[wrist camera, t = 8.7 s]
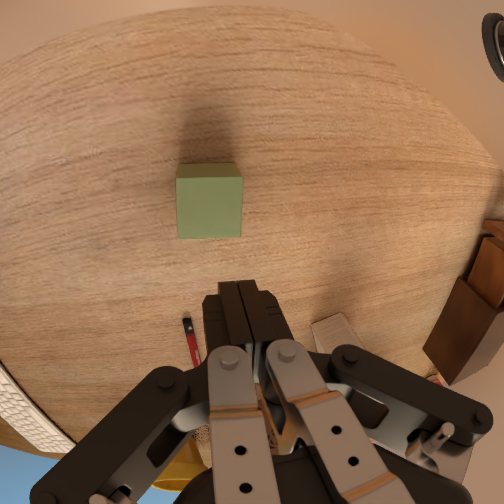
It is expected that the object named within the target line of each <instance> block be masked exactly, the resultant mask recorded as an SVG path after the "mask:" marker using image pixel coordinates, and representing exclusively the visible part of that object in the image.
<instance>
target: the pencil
mask: <svg viewBox="0 0 504 504" xmlns="http://www.w3.org/2000/svg"><path fill="white" fill-rule="evenodd" d="M183 325H184V329H185V333H186V337H187V341H188V345H189V349H190V353H191V356H192V360H193V364H194V367H197V366H199V365H200V364H201V360H200V356H199V352H198V348H197V344H196V339H195V335H194V330H193V326H192V321H191V318H184V319H183Z"/></svg>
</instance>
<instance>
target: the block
mask: <svg viewBox="0 0 504 504" xmlns="http://www.w3.org/2000/svg"><path fill="white" fill-rule="evenodd" d="M243 178H244V177H243V175H242V174H241V172H240V171H239V169H238V168H237V166H236V165H235V163H192V164H178V168H177V173H176V178H175V185H176V211H177V229H178V240H183V239H206V238H231V237H241V221H242V199H243Z"/></svg>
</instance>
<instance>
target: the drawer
mask: <svg viewBox="0 0 504 504" xmlns="http://www.w3.org/2000/svg"><path fill="white" fill-rule="evenodd" d="M483 228H484V229H486V230H487V231H489V232H490V233H491V234H493V235H494V236H496V237H484V238H483V241H482V244H481V247H480V250H479V252H478V255H477V258H476V260H475V263H474V265H473V268H472V270H471V273H470V275H469V277H468V280H467V283H468V284H470V285H471V286H472V287H473V288H474V289H475V290H476V291H477V292H478V293H479V294H480V295H481V296H482V297H483V298H484V299H485V300H487V301H488V302H489V303H490V304H491V305H492V306H493V307H494V308H495V309H496V310H498V309H500V308H502V307H504V221H489V220H485V223H484V226H483Z"/></svg>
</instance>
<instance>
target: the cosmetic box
mask: <svg viewBox="0 0 504 504" xmlns="http://www.w3.org/2000/svg"><path fill="white" fill-rule="evenodd" d="M311 327H312V331H313V336H314V340H315V344H316V348H317V352H318V353H326V354H331V353H332V351H333V350H334V349H335V348H336V347H337V346H340V345H343V344H351V345H355V346H358V347H360V348H362V349H364V350H366V349H365V347H364V346H363V344H362V343H361V341H360V340H359V338H358V337H357V335H356V333H355V332H354V330H353V329H352V327H351V326H350V324H349V323H348V321H347V320H346V318H345V317H344V315H343V313H341V312H340V313H337V314H335V315H333V316H331V317H328V318H326V319H323V320H321V321H318V322H316V323H314V324H312V325H311ZM356 391H357V390H356ZM358 392H359V391H358ZM360 393H361V392H360ZM362 394H363V393H362ZM364 395H365V394H364ZM366 396H367V395H366ZM368 397H369V396H368ZM370 398H371V397H370ZM372 399H373V398H372ZM374 400H375V399H374ZM376 401H377V400H376ZM378 402H379V401H378ZM380 403H381V402H380Z"/></svg>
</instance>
